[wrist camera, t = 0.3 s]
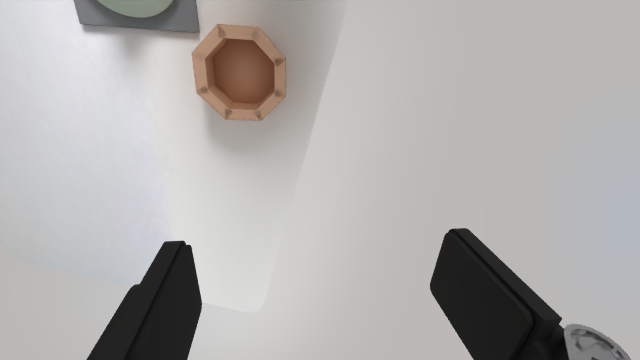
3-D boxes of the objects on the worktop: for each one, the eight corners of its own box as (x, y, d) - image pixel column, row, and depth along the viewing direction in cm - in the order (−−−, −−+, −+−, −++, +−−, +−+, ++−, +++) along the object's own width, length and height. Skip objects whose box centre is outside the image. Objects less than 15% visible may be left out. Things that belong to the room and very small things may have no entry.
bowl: (200, 25, 31) (187, 21, 27) (284, 31, 33) (285, 29, 28) (209, 109, 36) (199, 118, 31) (284, 112, 37) (285, 121, 33)
